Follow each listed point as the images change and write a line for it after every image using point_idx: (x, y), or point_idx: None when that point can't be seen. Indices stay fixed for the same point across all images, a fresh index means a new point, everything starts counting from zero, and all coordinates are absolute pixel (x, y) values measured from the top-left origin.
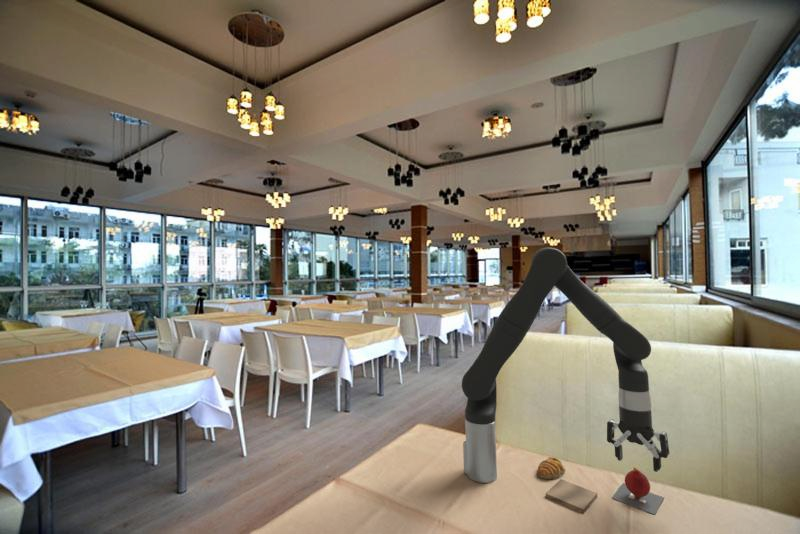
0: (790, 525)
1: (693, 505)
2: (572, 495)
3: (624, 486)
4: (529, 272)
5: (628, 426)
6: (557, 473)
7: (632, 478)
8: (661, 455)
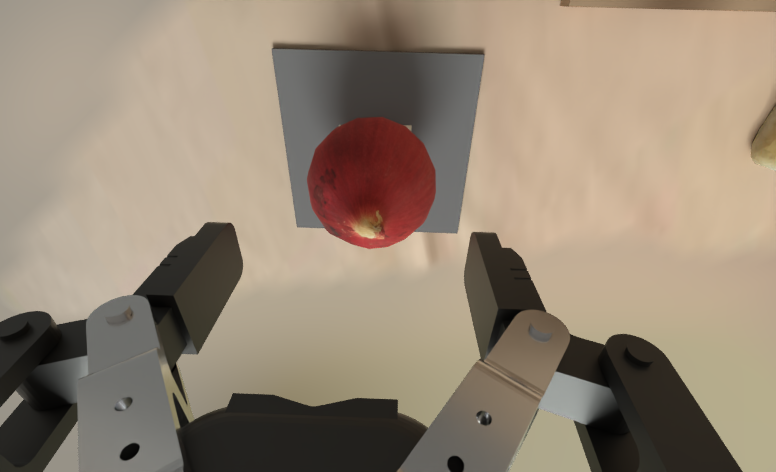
0: (6, 303)
1: None
2: None
3: (446, 208)
4: None
5: None
6: None
7: (382, 158)
8: (73, 334)
